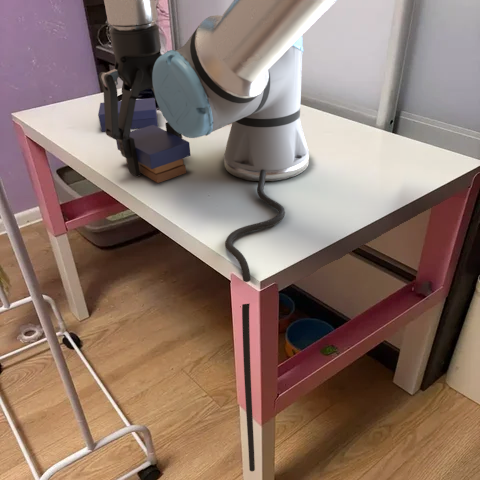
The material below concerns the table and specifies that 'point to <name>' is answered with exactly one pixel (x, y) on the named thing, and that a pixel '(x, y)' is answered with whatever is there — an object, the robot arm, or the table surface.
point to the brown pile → (163, 171)
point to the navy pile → (136, 114)
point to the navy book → (158, 146)
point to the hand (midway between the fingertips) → (155, 166)
